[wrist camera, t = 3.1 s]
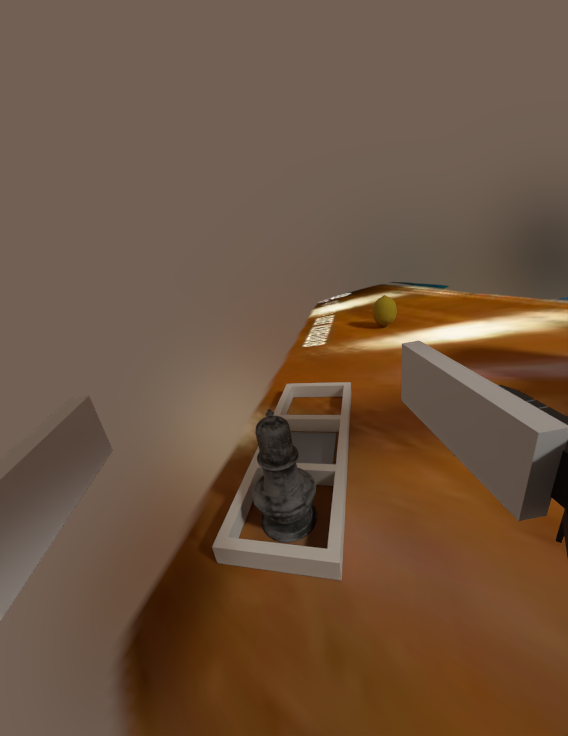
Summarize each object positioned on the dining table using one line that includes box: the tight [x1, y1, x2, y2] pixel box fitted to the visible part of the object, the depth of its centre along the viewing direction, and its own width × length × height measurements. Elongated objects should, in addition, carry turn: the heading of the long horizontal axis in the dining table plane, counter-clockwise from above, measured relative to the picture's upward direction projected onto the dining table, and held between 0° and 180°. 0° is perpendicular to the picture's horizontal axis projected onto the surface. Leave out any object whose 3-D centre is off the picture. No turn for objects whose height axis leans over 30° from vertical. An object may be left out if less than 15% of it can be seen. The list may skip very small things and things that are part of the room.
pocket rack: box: [212, 382, 351, 580], centre depth 37 cm, size 29×10×2 cm, turn 167°
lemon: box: [373, 295, 397, 327], centre depth 76 cm, size 6×6×8 cm
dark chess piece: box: [252, 410, 317, 542], centre depth 27 cm, size 6×6×12 cm
